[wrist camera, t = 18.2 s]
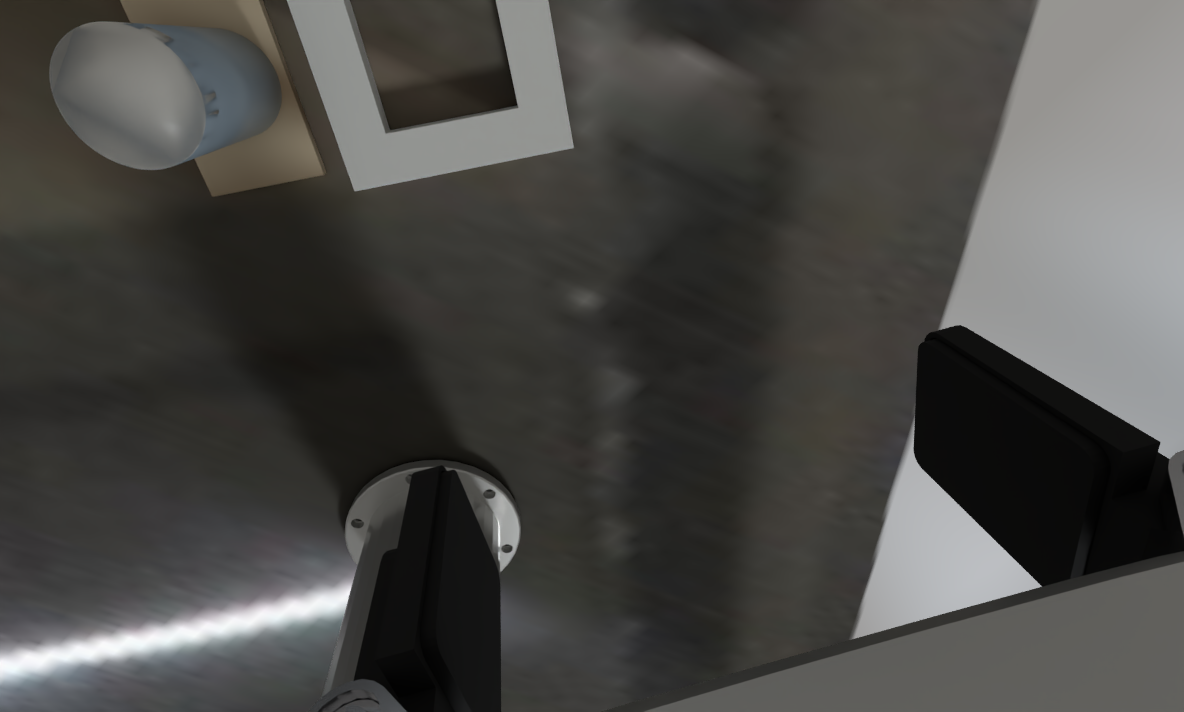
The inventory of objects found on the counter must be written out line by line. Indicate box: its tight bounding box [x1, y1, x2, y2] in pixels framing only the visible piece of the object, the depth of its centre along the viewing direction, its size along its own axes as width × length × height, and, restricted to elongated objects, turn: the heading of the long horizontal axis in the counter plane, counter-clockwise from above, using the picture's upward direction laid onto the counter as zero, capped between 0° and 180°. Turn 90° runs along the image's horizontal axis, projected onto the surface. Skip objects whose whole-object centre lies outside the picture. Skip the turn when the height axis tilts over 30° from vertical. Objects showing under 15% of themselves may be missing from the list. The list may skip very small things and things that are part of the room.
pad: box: [120, 0, 327, 197], centre depth 30 cm, size 10×6×1 cm, turn 10°
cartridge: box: [49, 21, 282, 170], centre depth 26 cm, size 5×5×9 cm
